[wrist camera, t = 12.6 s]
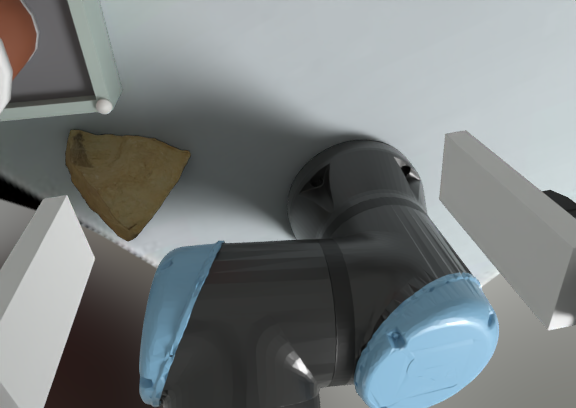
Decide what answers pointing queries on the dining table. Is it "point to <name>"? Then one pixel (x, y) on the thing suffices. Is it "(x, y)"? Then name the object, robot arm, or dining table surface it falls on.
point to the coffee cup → (15, 43)
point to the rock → (123, 176)
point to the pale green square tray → (66, 64)
